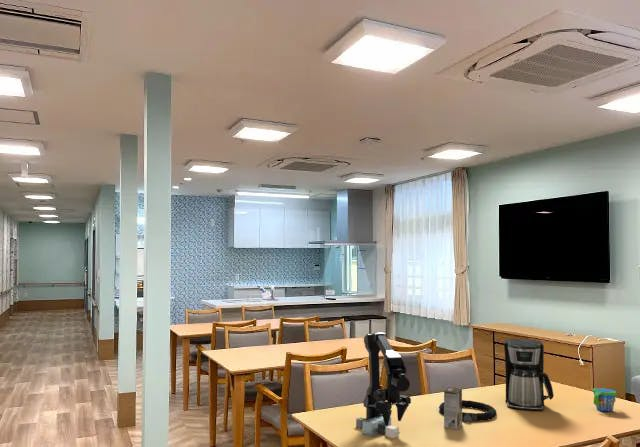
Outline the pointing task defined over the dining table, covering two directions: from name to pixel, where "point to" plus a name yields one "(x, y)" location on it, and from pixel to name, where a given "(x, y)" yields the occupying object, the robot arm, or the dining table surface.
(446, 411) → the coffee box
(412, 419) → the dining table surface
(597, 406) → the snack cup
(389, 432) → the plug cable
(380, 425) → the motor housing
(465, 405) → the cable lock
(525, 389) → the coffee maker
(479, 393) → the dining table surface
